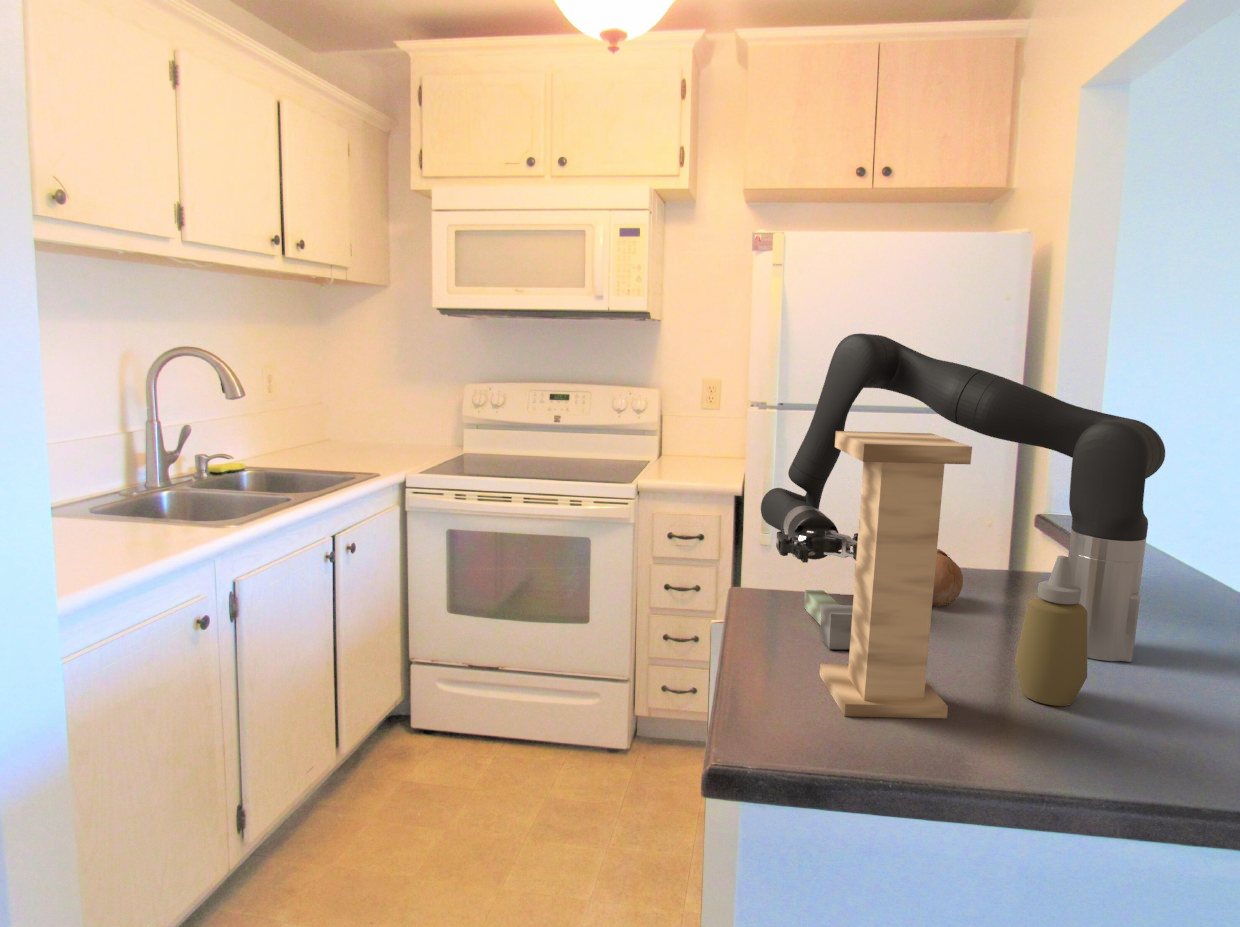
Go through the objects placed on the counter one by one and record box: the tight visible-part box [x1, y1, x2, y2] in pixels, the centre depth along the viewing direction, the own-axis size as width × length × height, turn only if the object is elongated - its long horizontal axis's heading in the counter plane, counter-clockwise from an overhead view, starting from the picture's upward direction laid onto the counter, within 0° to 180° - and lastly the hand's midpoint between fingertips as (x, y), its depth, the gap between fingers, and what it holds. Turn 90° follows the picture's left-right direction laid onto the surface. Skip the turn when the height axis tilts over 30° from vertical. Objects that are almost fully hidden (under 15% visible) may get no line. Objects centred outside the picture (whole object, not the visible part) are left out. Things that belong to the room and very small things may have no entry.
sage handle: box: [803, 589, 853, 650], centre depth 127 cm, size 18×5×5 cm, turn 2°
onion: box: [932, 548, 964, 607], centre depth 140 cm, size 10×9×10 cm
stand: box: [819, 430, 973, 719], centre depth 102 cm, size 12×12×32 cm
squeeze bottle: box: [1014, 555, 1088, 707], centre depth 104 cm, size 8×8×18 cm
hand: (834, 556), depth 126 cm, fingers open, 8 cm apart
